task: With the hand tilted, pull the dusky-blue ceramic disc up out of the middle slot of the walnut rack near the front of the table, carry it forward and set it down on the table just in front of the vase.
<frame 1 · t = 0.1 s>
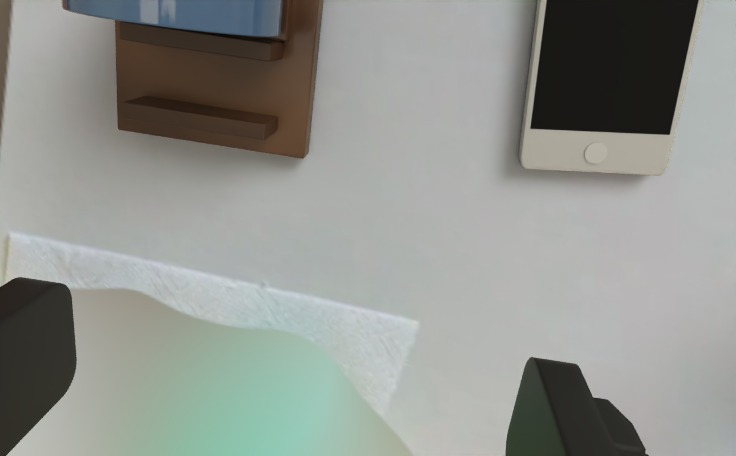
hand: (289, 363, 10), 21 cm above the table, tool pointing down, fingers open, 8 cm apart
rack: (223, 1, 28), on the table
smartphone: (613, 6, 26), on the table
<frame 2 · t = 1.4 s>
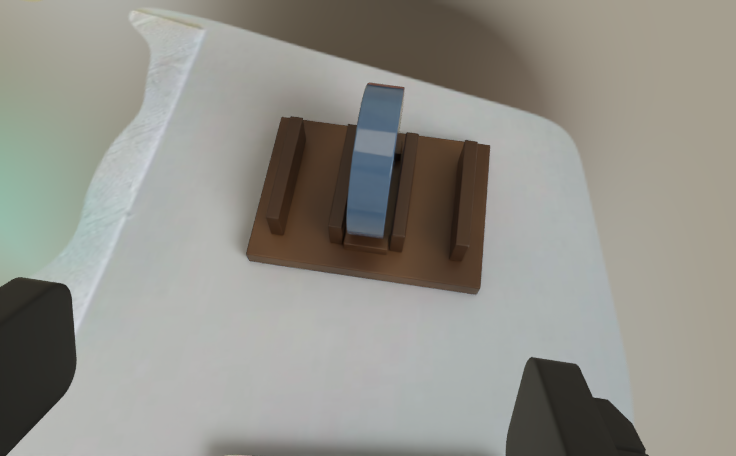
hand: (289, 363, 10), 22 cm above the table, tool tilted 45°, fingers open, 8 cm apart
rack: (373, 205, 36), on the table
disc: (376, 162, 31), point 5 cm above the table, touching rack
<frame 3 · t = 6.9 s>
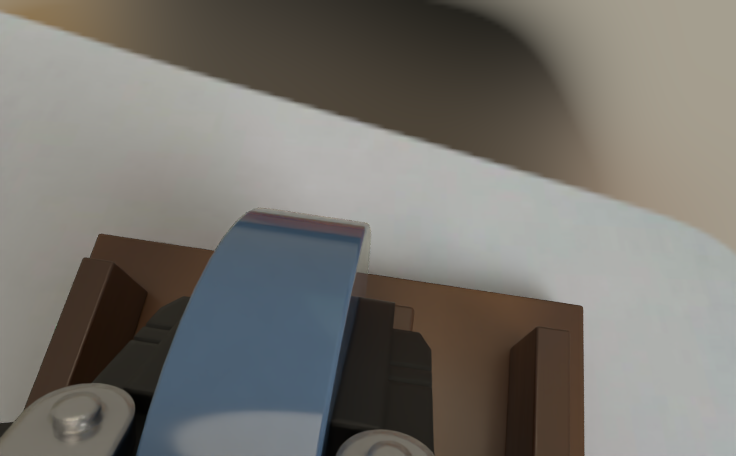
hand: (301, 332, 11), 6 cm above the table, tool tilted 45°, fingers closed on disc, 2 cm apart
disc: (280, 447, 10), point 5 cm above the table, touching gripper
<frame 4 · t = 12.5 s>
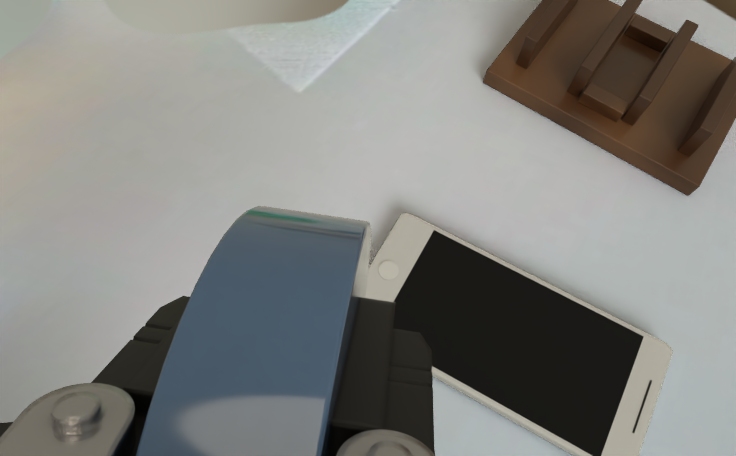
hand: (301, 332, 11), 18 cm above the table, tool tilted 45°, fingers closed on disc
rack: (615, 84, 36), on the table
smartphone: (500, 337, 29), on the table
disc: (281, 446, 10), point 18 cm above the table, touching gripper
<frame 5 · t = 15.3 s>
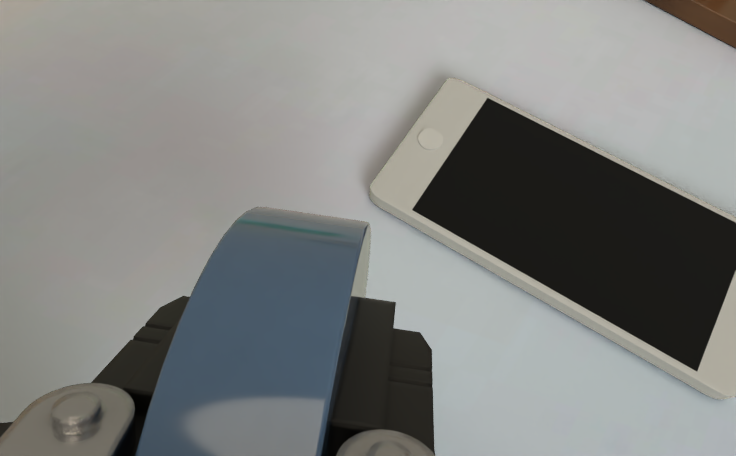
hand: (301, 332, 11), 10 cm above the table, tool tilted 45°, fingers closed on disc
smartphone: (566, 227, 23), on the table
disc: (280, 447, 10), point 10 cm above the table, touching gripper
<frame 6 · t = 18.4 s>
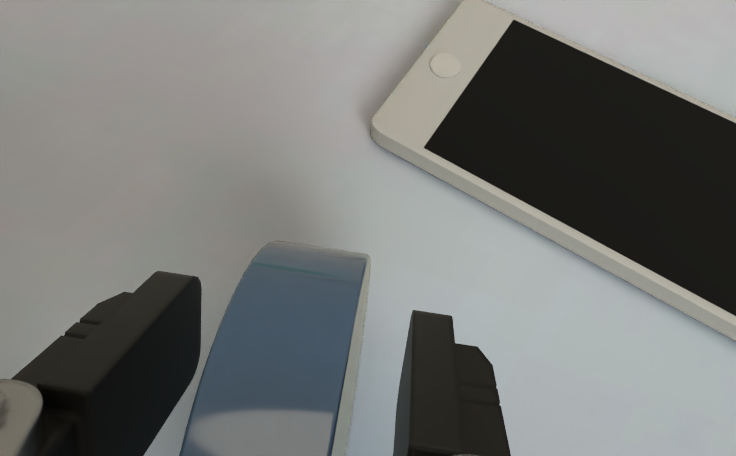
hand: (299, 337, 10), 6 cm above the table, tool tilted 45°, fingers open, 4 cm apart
smartphone: (612, 173, 19), on the table
disc: (291, 453, 11), point 4 cm above the table
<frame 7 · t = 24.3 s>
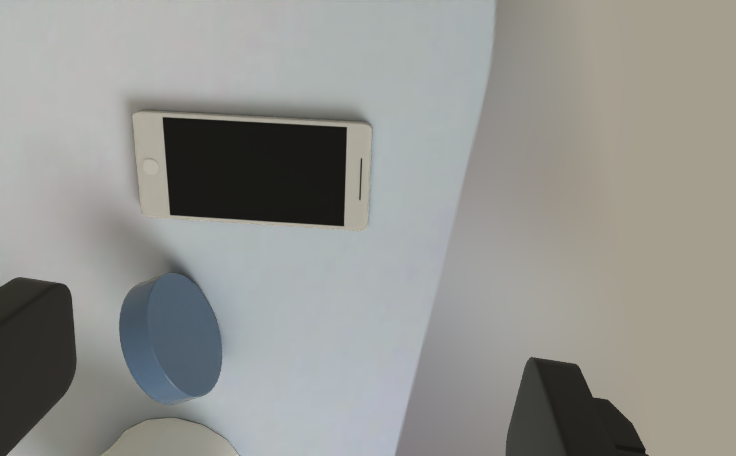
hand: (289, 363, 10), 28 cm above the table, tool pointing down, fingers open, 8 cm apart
smartphone: (255, 169, 37), on the table
disc: (175, 337, 37), point 4 cm above the table, tilted 34°
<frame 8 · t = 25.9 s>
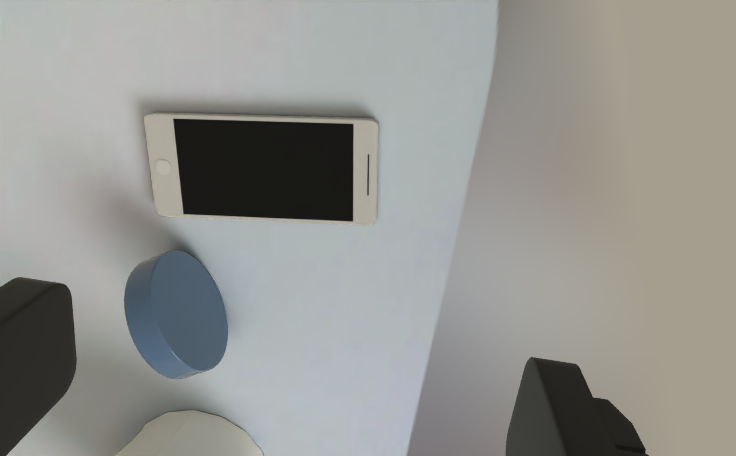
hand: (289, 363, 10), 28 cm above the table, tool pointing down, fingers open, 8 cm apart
smartphone: (265, 167, 38), on the table
disc: (180, 313, 38), point 4 cm above the table, tilted 55°
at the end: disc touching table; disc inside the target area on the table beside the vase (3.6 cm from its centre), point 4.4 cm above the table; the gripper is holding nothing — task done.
